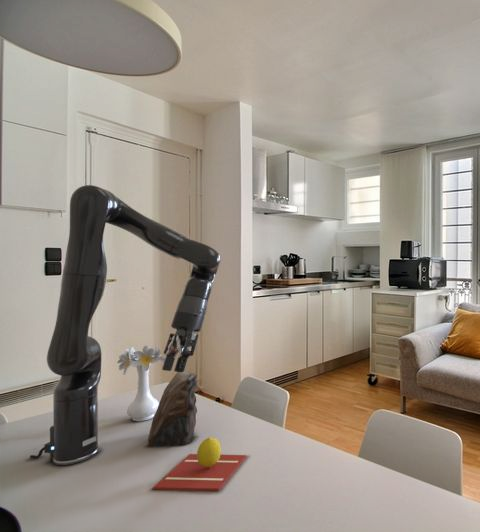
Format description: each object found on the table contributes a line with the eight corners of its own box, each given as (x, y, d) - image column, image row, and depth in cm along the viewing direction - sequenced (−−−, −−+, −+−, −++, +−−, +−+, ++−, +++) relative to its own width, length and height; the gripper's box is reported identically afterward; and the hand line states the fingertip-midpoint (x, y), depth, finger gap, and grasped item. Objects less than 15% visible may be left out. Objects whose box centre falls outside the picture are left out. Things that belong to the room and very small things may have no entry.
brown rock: (176, 427, 121) (176, 366, 120) (211, 430, 119) (212, 368, 118) (144, 446, 108) (144, 379, 108) (183, 450, 106) (183, 381, 106)
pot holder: (153, 489, 88) (153, 486, 88) (189, 456, 103) (189, 453, 103) (219, 491, 88) (219, 488, 88) (246, 457, 103) (246, 454, 103)
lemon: (210, 475, 93) (210, 444, 93) (192, 472, 94) (192, 441, 94) (225, 463, 99) (225, 433, 99) (207, 460, 100) (207, 431, 100)
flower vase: (143, 406, 137) (142, 339, 136) (177, 415, 130) (177, 344, 129) (103, 420, 125) (103, 347, 124) (138, 430, 118) (138, 353, 117)
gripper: (167, 311, 108) (148, 368, 103) (187, 308, 99) (167, 370, 94) (193, 318, 114) (176, 372, 108) (214, 315, 105) (197, 374, 99)
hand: (172, 371), depth 101 cm, fingers open, 8 cm apart
